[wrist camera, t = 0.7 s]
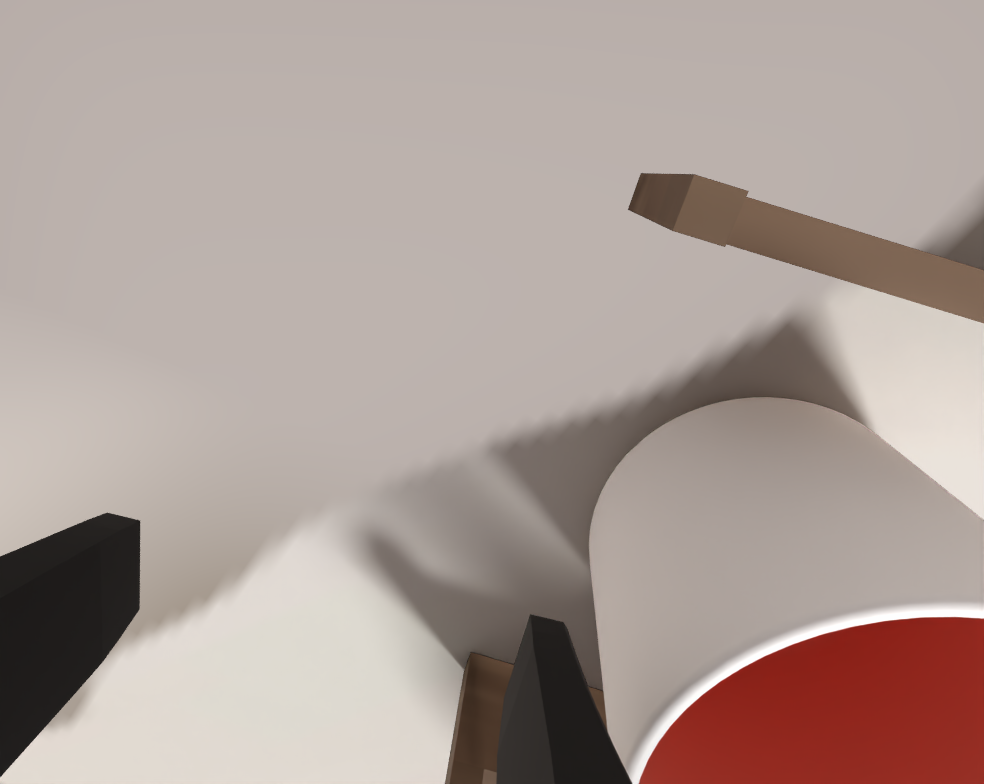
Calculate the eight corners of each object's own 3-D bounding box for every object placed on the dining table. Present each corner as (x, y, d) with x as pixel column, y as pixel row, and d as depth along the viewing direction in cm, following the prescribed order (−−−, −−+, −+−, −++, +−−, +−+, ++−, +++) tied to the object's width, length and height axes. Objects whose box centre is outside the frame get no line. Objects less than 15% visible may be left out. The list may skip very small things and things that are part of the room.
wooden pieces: (852, 784, 24) (957, 997, 18) (464, 671, 23) (434, 846, 17) (1182, 340, 17) (1540, 435, 11) (640, 173, 17) (694, 174, 10)
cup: (731, 319, 18) (933, 481, 8) (965, 504, 19) (1362, 821, 10) (527, 540, 21) (510, 833, 12) (739, 684, 22) (876, 1051, 13)
